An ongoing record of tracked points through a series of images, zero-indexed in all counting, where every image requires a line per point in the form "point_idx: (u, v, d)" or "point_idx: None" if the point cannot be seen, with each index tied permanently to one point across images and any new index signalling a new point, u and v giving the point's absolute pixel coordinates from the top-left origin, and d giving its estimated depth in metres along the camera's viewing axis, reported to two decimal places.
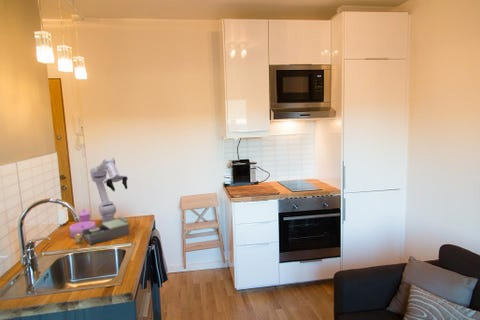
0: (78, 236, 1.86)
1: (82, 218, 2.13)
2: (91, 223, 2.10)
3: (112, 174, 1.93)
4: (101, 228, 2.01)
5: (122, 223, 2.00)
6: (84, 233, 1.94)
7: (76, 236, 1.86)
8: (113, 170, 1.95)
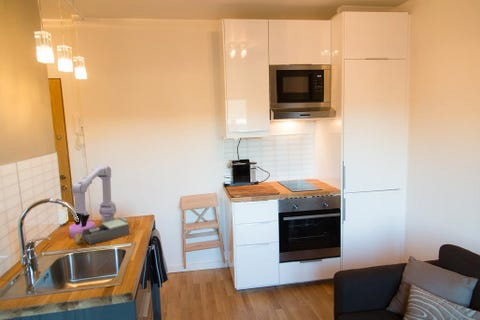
0: (78, 236, 1.86)
1: None
2: (90, 223, 2.09)
3: None
4: (101, 228, 2.01)
5: (122, 223, 2.00)
6: (84, 233, 1.94)
7: (76, 236, 1.86)
8: None
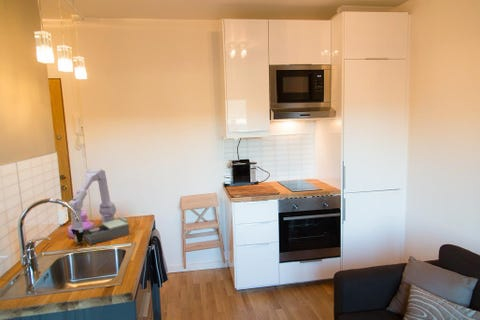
0: None
1: None
2: (89, 223, 2.09)
3: None
4: (101, 228, 2.01)
5: (122, 223, 2.00)
6: (84, 233, 1.94)
7: None
8: (71, 220, 1.85)
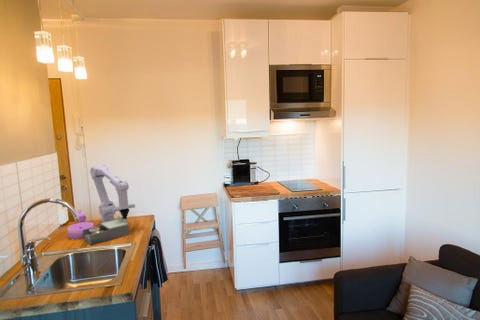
0: None
1: None
2: (88, 224, 2.08)
3: (122, 205, 2.01)
4: (101, 228, 2.01)
5: (121, 223, 1.99)
6: (84, 233, 1.94)
7: None
8: (124, 201, 2.01)
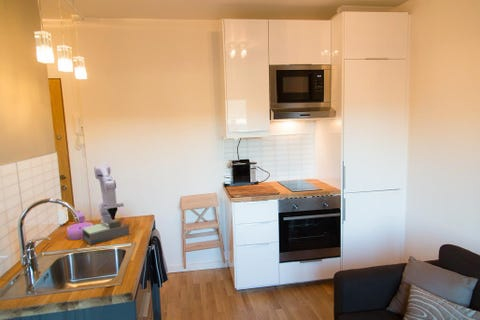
0: None
1: None
2: (88, 224, 2.08)
3: (110, 204, 1.96)
4: None
5: (103, 228, 1.92)
6: (84, 233, 1.94)
7: None
8: (112, 199, 1.96)
